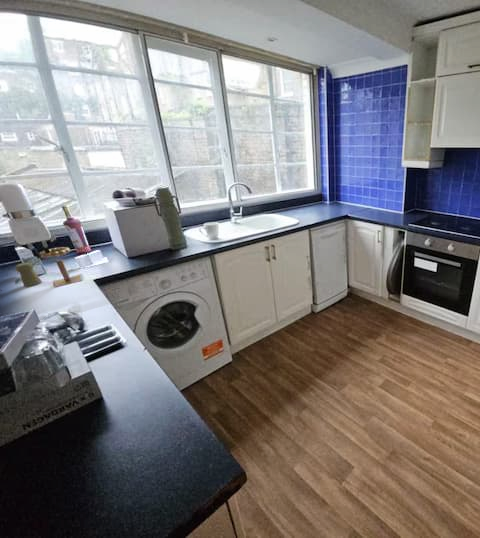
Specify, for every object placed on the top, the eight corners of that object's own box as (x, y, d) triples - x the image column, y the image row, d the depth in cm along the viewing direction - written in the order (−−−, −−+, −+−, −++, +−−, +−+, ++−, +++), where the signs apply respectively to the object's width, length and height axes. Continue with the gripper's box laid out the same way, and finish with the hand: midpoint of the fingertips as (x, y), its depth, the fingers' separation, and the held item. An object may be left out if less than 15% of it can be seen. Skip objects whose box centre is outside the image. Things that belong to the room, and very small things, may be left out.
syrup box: (44, 271, 149) (31, 244, 144) (47, 273, 146) (33, 246, 140) (28, 275, 145) (14, 247, 139) (31, 277, 142) (16, 249, 136)
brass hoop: (40, 260, 123) (37, 255, 122) (39, 255, 129) (37, 250, 128) (71, 253, 129) (69, 249, 128) (69, 249, 136) (68, 245, 135)
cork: (43, 281, 137) (32, 260, 132) (43, 285, 133) (31, 263, 128) (25, 286, 133) (13, 263, 129) (24, 290, 129) (11, 267, 125)
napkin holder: (106, 257, 166) (102, 247, 164) (109, 261, 159) (105, 251, 157) (70, 265, 156) (66, 255, 154) (72, 270, 149) (68, 260, 147)
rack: (56, 289, 129) (44, 265, 125) (55, 283, 135) (44, 260, 130) (83, 282, 135) (72, 259, 130) (81, 277, 141) (71, 255, 136)
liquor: (95, 251, 177) (76, 204, 166) (83, 255, 170) (62, 207, 159) (86, 250, 178) (67, 204, 167) (73, 254, 172) (52, 207, 161)
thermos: (166, 247, 178) (148, 188, 164) (188, 243, 185) (172, 186, 171) (169, 251, 172) (151, 190, 158) (191, 246, 179) (175, 187, 165)
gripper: (-9, 220, 112) (16, 264, 119) (50, 212, 122) (69, 253, 130) (-7, 217, 117) (16, 260, 124) (49, 210, 127) (67, 250, 134)
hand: (43, 256), depth 127 cm, fingers closed on brass hoop, 2 cm apart
